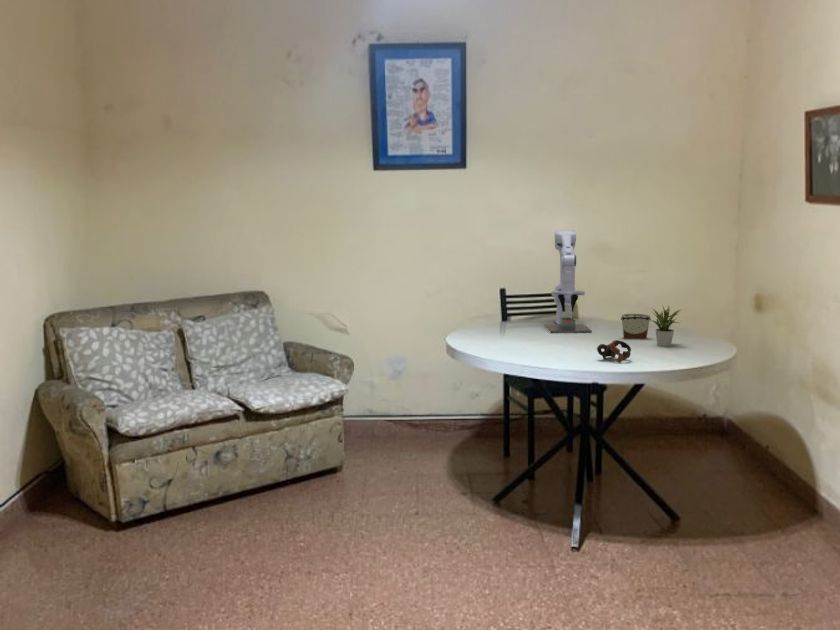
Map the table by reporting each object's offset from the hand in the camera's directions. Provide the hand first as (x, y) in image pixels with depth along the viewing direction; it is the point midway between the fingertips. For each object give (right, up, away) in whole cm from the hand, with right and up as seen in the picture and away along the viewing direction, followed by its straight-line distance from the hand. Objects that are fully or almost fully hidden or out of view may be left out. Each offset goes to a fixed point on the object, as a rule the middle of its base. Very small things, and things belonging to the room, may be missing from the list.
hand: (567, 311), depth 336 cm
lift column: (0, -5, +1) cm, 5 cm away
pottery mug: (+4, -18, -64) cm, 66 cm away
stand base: (0, -8, +1) cm, 8 cm away
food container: (+24, -12, -21) cm, 34 cm away
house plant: (+32, -14, -39) cm, 52 cm away
